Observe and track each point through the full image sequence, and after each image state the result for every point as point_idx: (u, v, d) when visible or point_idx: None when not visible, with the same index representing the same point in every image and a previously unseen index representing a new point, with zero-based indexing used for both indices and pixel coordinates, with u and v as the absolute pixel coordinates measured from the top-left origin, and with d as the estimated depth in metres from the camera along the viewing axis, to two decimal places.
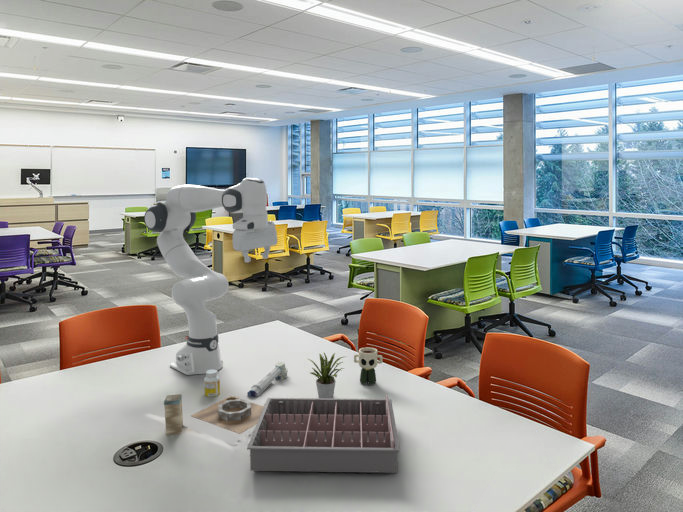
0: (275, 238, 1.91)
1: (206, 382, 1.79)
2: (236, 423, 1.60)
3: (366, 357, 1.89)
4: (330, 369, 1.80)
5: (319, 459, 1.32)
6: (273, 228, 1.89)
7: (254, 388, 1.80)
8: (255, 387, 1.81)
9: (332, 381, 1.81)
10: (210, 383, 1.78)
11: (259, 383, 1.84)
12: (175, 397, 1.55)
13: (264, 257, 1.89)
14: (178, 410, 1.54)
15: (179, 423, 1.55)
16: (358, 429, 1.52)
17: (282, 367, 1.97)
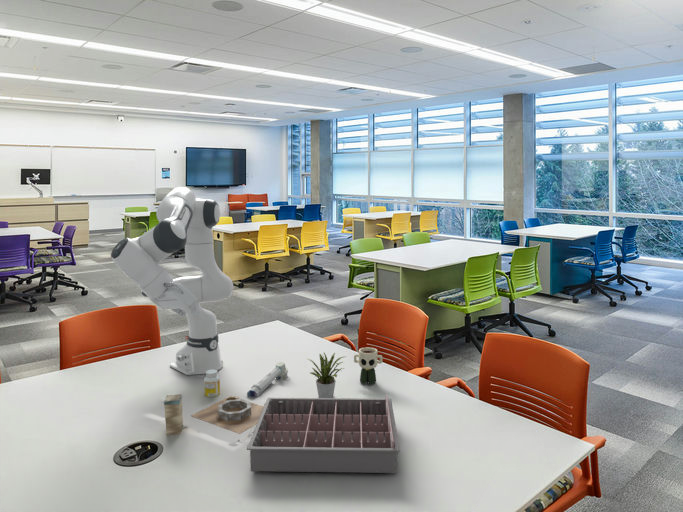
0: (181, 302, 1.46)
1: (206, 382, 1.79)
2: (236, 423, 1.60)
3: (366, 357, 1.89)
4: (330, 369, 1.80)
5: (319, 459, 1.32)
6: (171, 293, 1.45)
7: (254, 388, 1.80)
8: (255, 387, 1.81)
9: (332, 381, 1.81)
10: (210, 383, 1.78)
11: (259, 383, 1.84)
12: (175, 397, 1.55)
13: None
14: (178, 410, 1.54)
15: (179, 423, 1.55)
16: (358, 429, 1.52)
17: (282, 367, 1.97)
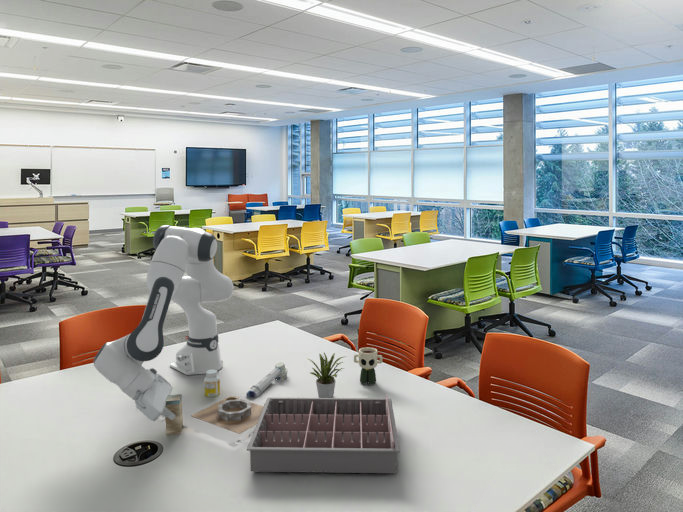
0: None
1: (206, 382, 1.79)
2: (236, 423, 1.60)
3: (366, 357, 1.89)
4: (330, 369, 1.80)
5: (319, 460, 1.32)
6: None
7: (253, 389, 1.80)
8: (254, 388, 1.80)
9: (332, 381, 1.81)
10: (210, 383, 1.78)
11: (258, 384, 1.83)
12: (175, 397, 1.55)
13: None
14: (178, 410, 1.54)
15: (179, 423, 1.55)
16: (358, 429, 1.52)
17: (282, 368, 1.97)
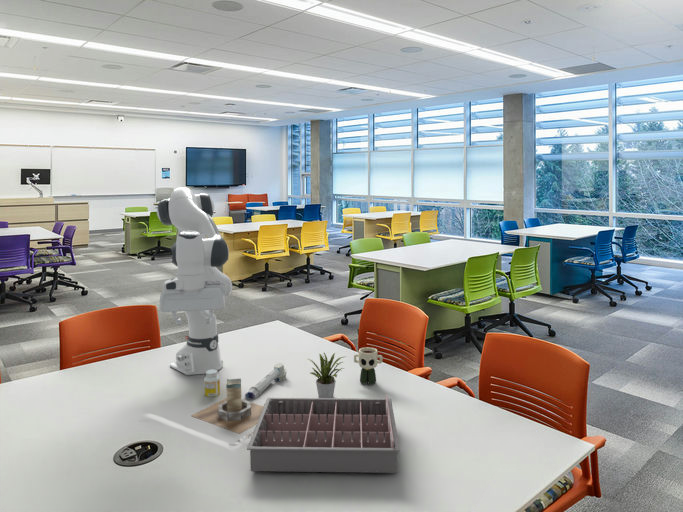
0: (218, 301, 1.63)
1: (206, 382, 1.79)
2: (236, 423, 1.60)
3: (366, 357, 1.89)
4: (330, 369, 1.80)
5: (319, 459, 1.32)
6: (216, 290, 1.62)
7: (252, 390, 1.79)
8: (253, 389, 1.79)
9: (332, 381, 1.81)
10: (210, 383, 1.78)
11: (257, 385, 1.82)
12: (235, 381, 1.65)
13: None
14: (239, 393, 1.63)
15: (240, 405, 1.64)
16: (358, 429, 1.52)
17: (281, 369, 1.96)
